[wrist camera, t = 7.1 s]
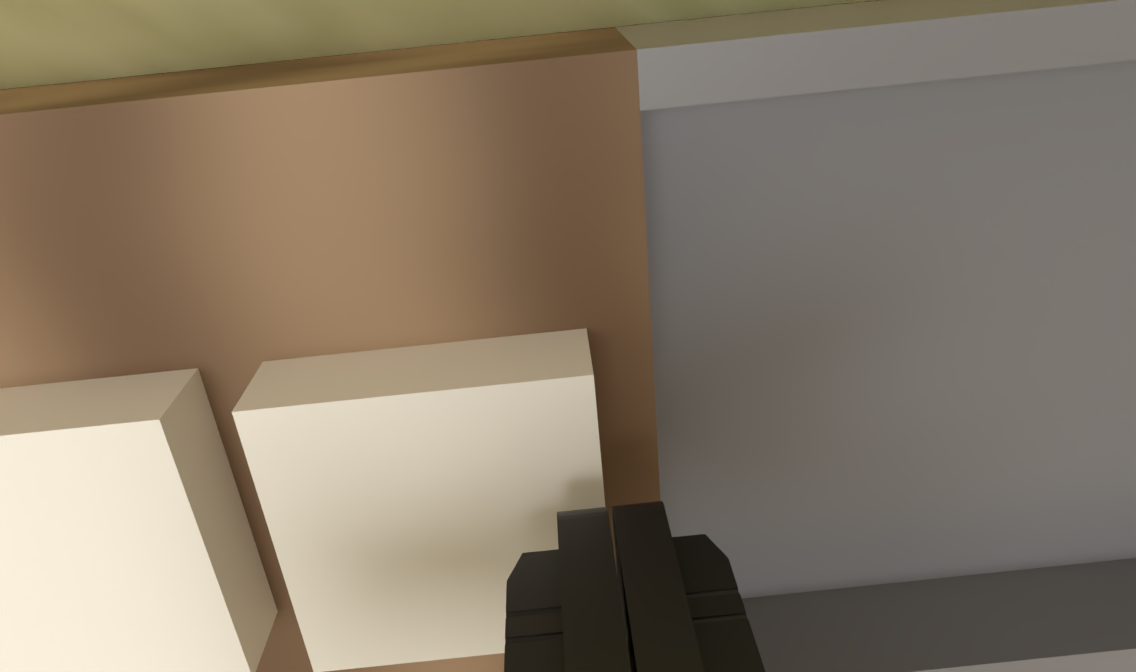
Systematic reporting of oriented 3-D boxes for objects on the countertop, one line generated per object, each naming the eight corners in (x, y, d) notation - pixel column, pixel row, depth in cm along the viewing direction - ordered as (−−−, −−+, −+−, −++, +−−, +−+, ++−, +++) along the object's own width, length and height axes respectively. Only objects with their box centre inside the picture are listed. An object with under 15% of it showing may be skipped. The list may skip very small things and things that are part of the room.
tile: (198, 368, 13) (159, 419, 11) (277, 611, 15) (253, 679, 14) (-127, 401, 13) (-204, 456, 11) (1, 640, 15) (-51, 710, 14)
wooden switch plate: (614, 27, 14) (636, 49, 11) (651, 614, 19) (672, 724, 17) (-259, 116, 14) (-453, 160, 11) (35, 678, 19) (-45, 798, 17)
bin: (1456, -59, 14) (1685, -58, 11) (1245, 553, 19) (1362, 653, 17) (614, 27, 14) (636, 49, 11) (651, 614, 19) (672, 724, 17)
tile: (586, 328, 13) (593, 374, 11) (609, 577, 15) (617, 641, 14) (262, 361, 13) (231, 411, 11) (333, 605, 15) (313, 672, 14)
